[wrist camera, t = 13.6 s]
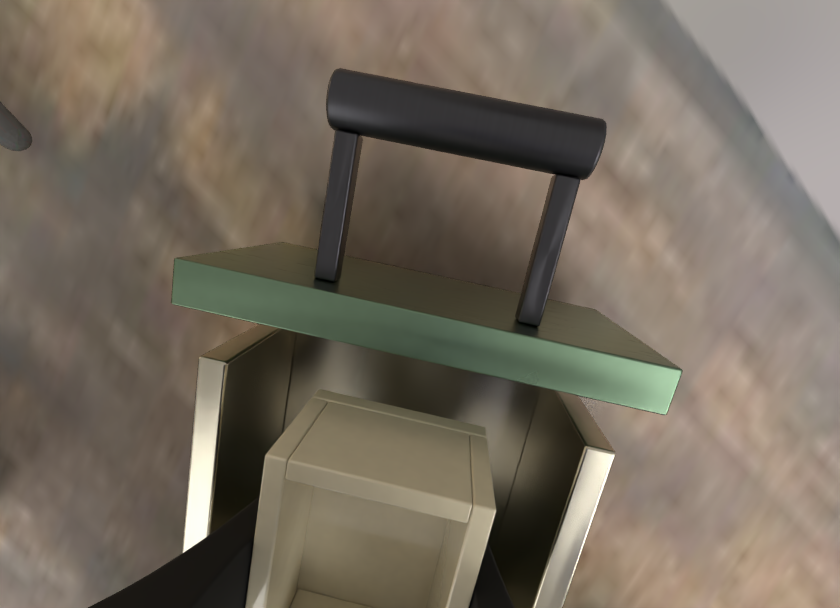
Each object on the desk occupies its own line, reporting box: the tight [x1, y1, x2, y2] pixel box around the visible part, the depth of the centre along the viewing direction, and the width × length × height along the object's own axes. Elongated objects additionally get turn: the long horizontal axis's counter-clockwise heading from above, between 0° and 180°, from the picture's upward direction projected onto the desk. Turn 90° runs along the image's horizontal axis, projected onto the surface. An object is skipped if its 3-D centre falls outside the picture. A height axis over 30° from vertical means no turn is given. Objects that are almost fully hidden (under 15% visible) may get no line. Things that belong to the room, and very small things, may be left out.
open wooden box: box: [245, 389, 496, 608], centre depth 11 cm, size 5×7×4 cm
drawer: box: [171, 68, 682, 608], centre depth 14 cm, size 21×12×6 cm, turn 168°
